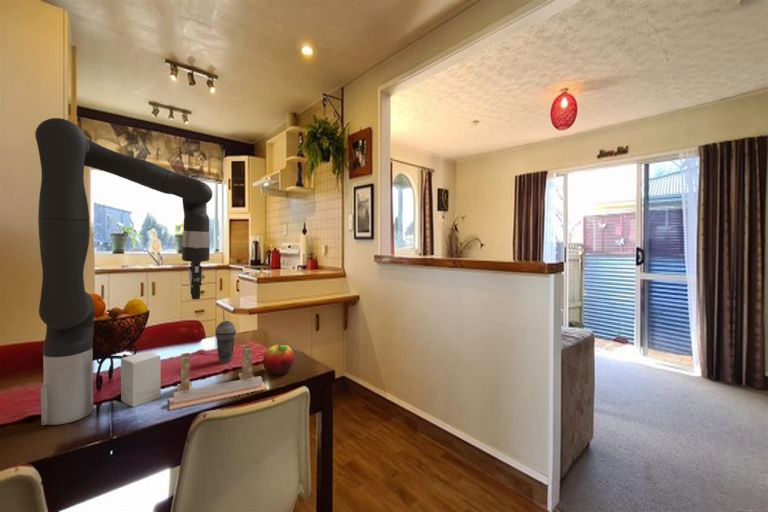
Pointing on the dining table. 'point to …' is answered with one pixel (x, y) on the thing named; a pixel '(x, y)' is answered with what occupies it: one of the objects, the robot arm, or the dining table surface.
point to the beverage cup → (225, 340)
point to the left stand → (184, 374)
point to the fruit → (278, 359)
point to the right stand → (246, 363)
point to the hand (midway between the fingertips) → (195, 296)
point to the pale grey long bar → (216, 389)
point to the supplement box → (140, 378)
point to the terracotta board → (214, 397)
